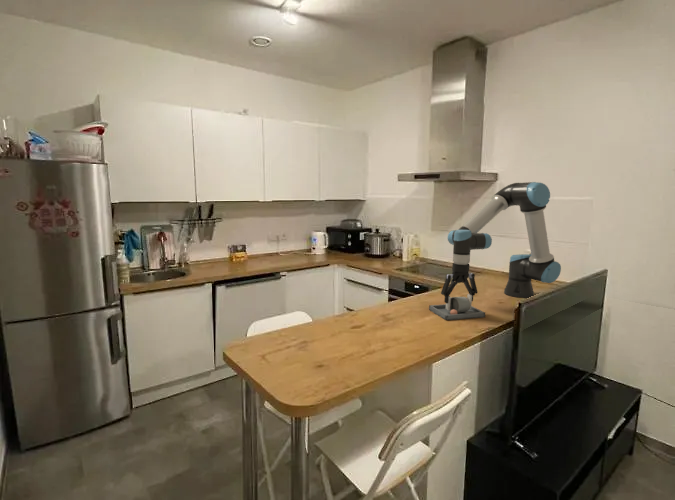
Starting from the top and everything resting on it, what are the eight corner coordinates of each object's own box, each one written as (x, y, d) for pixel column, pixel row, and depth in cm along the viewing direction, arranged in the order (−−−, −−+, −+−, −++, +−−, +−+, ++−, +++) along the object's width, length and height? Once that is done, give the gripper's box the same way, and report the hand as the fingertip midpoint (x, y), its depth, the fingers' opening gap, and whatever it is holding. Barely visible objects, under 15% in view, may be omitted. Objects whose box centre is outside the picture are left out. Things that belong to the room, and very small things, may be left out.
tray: (465, 307, 187) (465, 302, 186) (485, 317, 171) (485, 312, 171) (429, 309, 182) (429, 305, 182) (445, 320, 167) (446, 315, 166)
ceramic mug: (471, 313, 175) (472, 297, 174) (458, 315, 171) (459, 299, 170) (454, 307, 185) (455, 292, 184) (442, 309, 181) (442, 294, 180)
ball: (448, 314, 172) (453, 315, 173) (451, 316, 169) (457, 317, 170) (450, 307, 172) (455, 309, 172) (453, 309, 168) (459, 311, 169)
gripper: (478, 260, 180) (475, 304, 183) (434, 262, 174) (432, 307, 178) (487, 263, 173) (484, 309, 176) (442, 265, 167) (440, 312, 170)
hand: (458, 308), depth 177 cm, fingers open, 11 cm apart
